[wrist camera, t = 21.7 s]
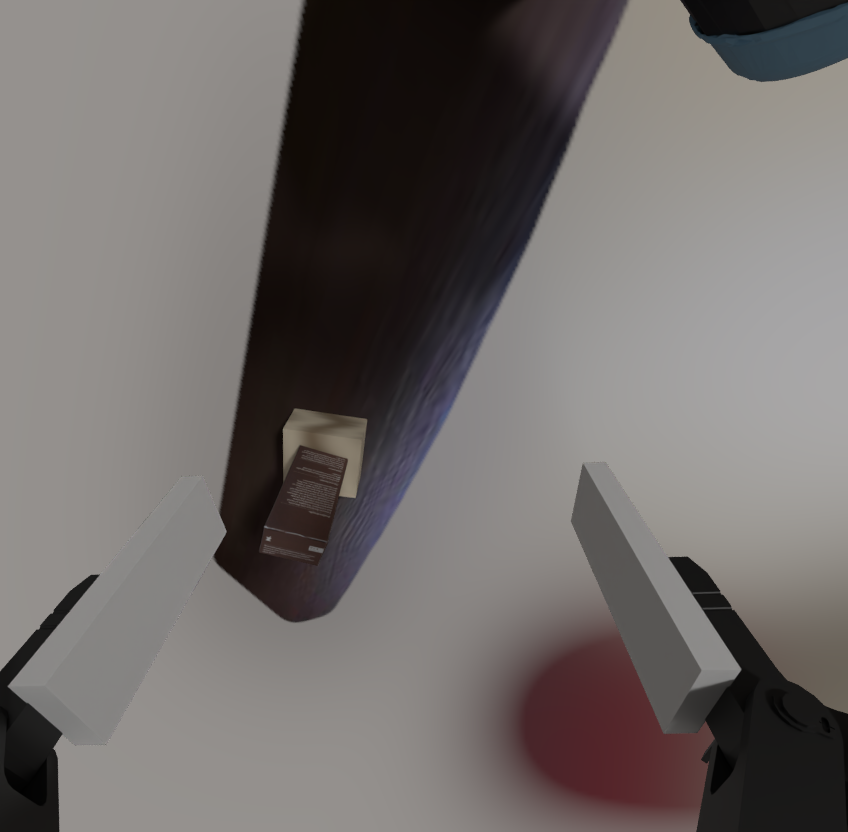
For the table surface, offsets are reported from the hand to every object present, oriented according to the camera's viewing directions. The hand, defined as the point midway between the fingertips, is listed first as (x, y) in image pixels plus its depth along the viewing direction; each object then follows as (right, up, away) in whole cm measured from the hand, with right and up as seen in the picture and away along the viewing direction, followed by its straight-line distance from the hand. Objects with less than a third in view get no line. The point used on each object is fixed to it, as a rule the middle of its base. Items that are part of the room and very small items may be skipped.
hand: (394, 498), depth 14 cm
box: (-11, -3, +33) cm, 35 cm away
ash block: (-11, 0, +37) cm, 39 cm away
